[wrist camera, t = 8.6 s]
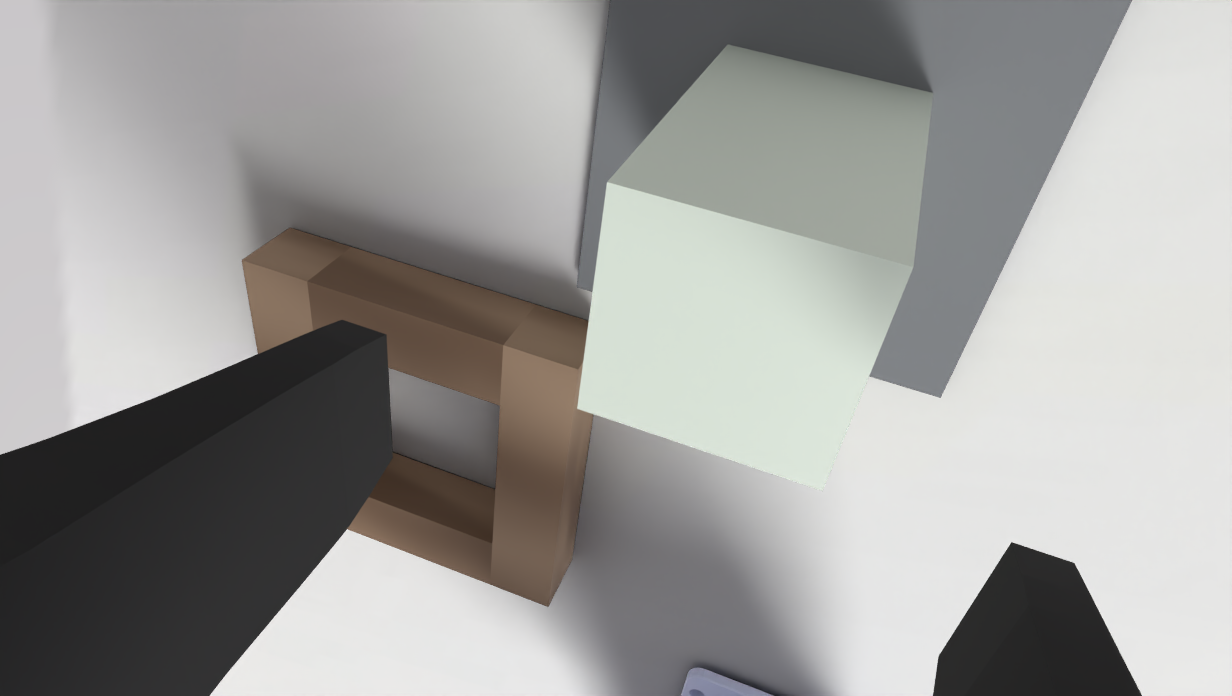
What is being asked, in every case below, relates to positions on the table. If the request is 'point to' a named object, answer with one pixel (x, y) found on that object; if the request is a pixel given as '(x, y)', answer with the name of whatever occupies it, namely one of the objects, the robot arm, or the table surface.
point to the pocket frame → (466, 362)
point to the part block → (757, 261)
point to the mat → (904, 55)
